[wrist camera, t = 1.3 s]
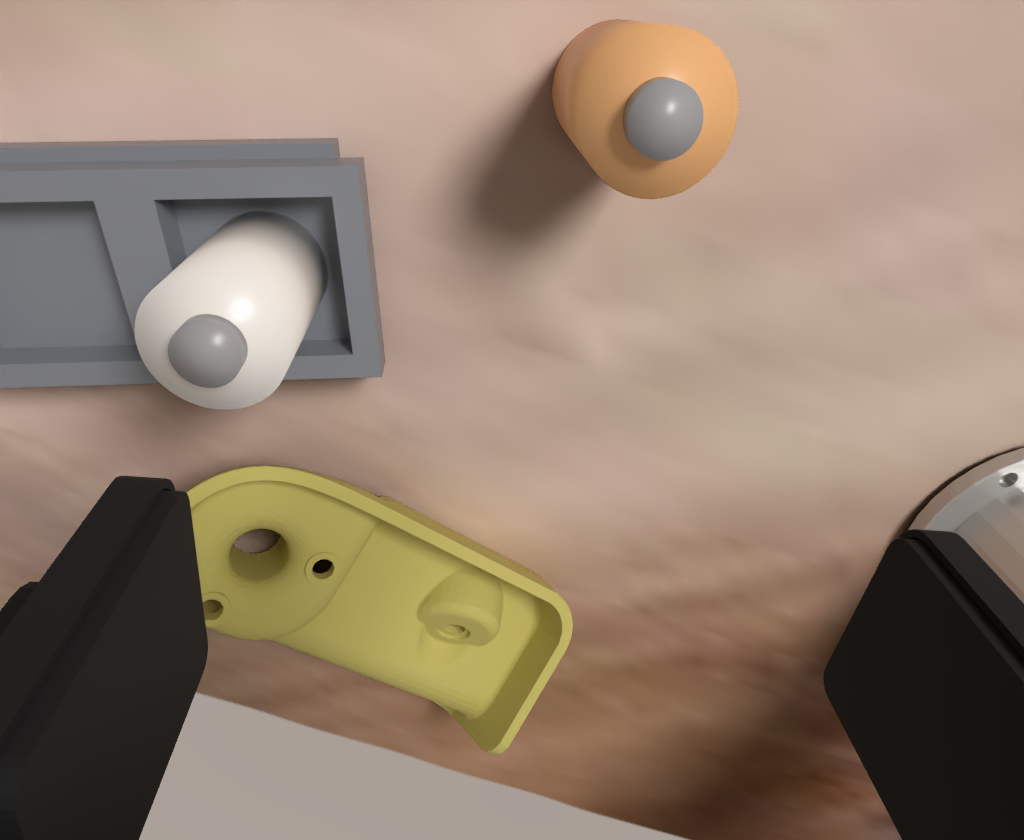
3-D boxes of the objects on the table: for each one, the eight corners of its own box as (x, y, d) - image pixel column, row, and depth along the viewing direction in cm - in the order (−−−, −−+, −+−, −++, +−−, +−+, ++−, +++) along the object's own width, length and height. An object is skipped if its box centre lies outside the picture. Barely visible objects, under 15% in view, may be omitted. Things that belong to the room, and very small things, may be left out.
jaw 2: (319, 209, 26) (268, 282, 19) (335, 321, 28) (294, 420, 21) (197, 211, 26) (102, 285, 19) (223, 324, 28) (146, 425, 21)
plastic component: (590, 609, 36) (487, 782, 35) (530, 555, 42) (444, 700, 42) (219, 422, 27) (80, 646, 27) (219, 391, 34) (107, 570, 33)
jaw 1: (680, 19, 24) (762, 25, 18) (666, 153, 27) (734, 204, 20) (553, 19, 24) (587, 26, 17) (550, 154, 26) (579, 207, 20)
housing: (365, 137, 26) (355, 150, 23) (388, 360, 30) (382, 388, 28) (-91, 144, 25) (-143, 157, 23) (4, 371, 29) (-32, 400, 27)
